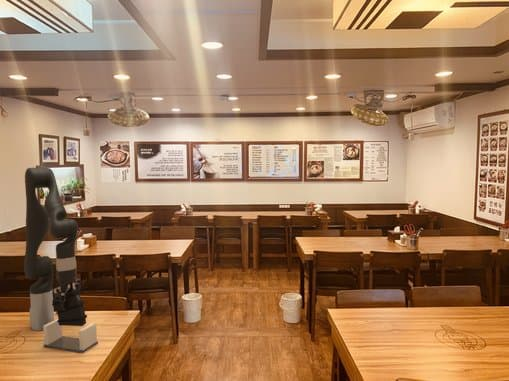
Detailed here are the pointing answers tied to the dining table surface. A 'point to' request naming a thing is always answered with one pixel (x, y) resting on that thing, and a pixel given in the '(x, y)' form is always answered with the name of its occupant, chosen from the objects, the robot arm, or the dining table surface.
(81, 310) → the magazine
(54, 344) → the rail plate
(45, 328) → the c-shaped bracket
